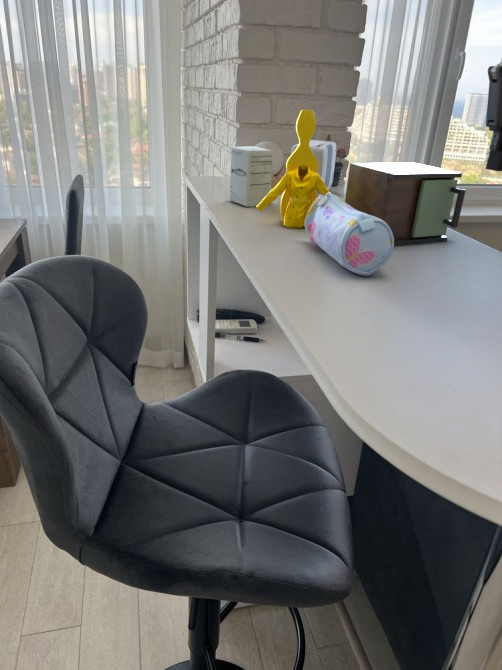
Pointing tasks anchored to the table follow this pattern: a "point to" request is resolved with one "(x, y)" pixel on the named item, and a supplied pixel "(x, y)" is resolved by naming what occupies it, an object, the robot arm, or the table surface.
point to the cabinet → (393, 194)
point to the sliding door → (437, 207)
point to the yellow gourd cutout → (323, 159)
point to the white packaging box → (250, 174)
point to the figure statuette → (298, 177)
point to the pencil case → (349, 234)
